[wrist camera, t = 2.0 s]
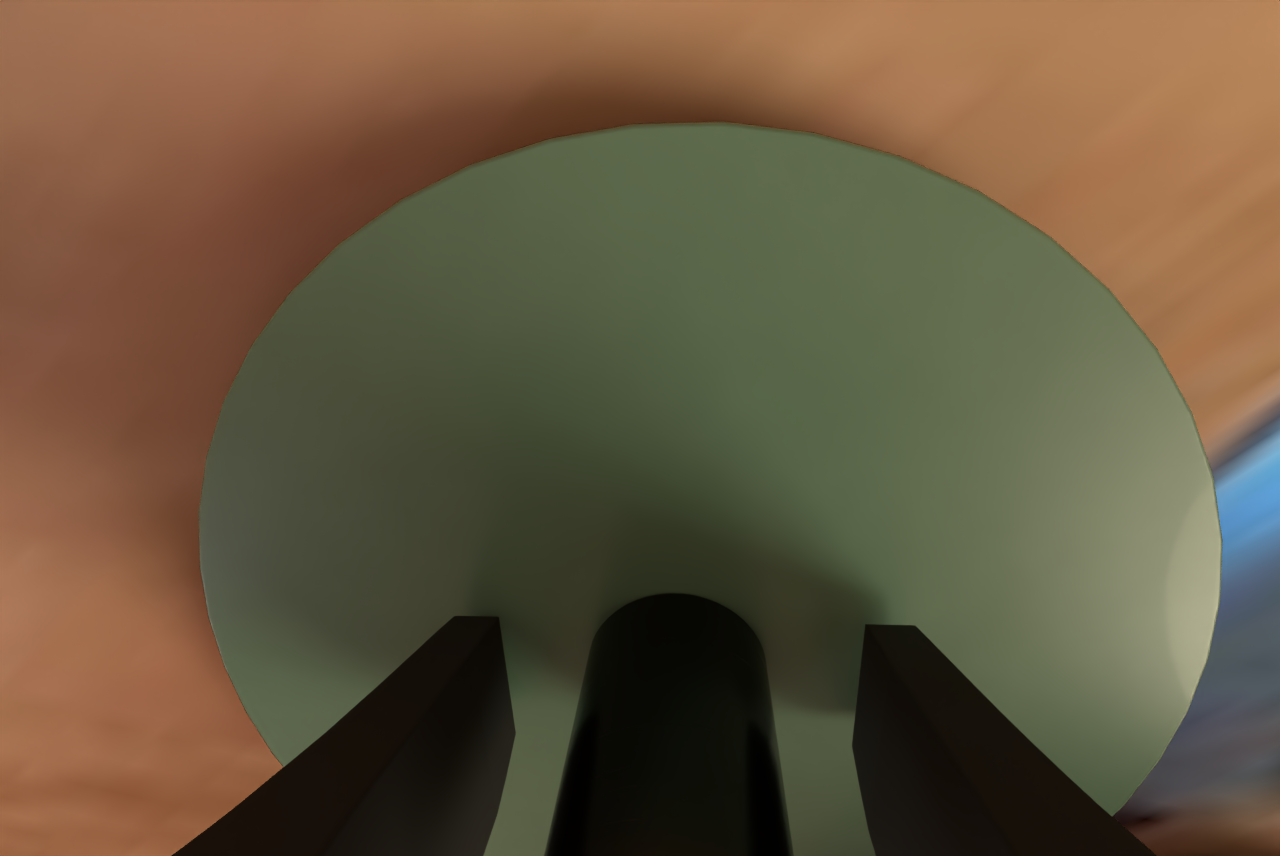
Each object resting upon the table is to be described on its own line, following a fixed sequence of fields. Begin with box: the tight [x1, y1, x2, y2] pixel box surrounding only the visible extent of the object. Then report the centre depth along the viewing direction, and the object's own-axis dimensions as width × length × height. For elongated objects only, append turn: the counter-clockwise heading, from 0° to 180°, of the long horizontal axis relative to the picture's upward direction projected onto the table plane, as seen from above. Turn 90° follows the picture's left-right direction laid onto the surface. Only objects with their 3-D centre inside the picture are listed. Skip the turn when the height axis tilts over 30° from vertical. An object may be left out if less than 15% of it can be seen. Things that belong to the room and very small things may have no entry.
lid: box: [199, 122, 1222, 856], centre depth 8 cm, size 13×13×5 cm
